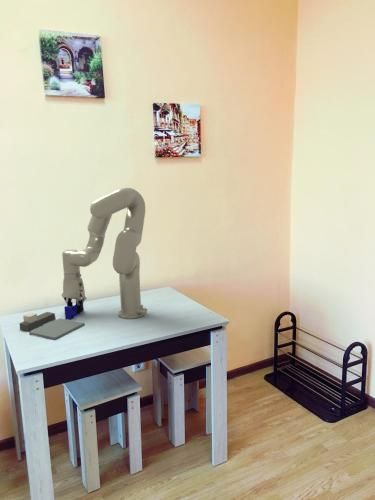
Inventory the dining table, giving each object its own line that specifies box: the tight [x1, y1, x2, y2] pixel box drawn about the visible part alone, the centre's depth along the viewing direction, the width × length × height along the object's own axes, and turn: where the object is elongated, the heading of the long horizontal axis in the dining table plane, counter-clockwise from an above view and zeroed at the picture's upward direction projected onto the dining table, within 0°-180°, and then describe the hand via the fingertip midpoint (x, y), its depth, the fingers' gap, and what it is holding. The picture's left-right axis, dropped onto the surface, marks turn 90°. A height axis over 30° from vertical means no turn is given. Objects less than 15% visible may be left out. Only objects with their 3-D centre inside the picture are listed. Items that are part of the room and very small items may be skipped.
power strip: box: [19, 311, 56, 332], centre depth 189 cm, size 5×16×6 cm, turn 152°
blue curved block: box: [63, 300, 85, 321], centre depth 200 cm, size 12×4×6 cm, turn 165°
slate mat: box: [28, 317, 86, 341], centre depth 183 cm, size 15×18×1 cm
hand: (75, 311), depth 202 cm, fingers closed on blue curved block, 5 cm apart
